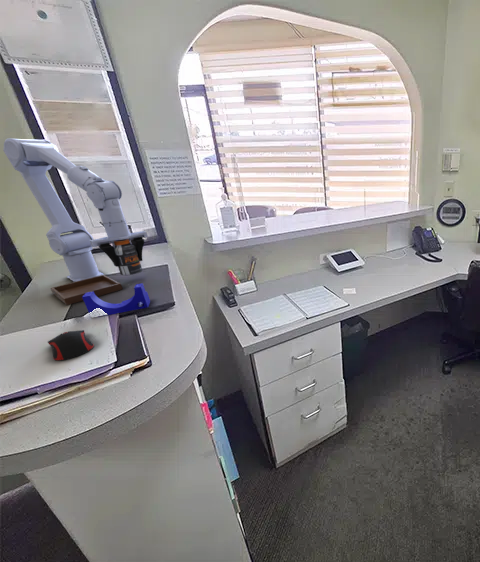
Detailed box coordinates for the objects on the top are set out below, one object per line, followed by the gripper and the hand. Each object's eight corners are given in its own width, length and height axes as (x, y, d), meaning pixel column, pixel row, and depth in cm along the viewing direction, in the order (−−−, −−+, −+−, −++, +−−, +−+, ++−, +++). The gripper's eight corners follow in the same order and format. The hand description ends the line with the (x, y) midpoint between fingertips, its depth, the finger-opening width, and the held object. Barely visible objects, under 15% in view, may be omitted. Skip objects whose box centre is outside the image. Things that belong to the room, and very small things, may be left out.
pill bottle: (131, 276, 99) (119, 242, 95) (116, 275, 101) (104, 241, 96) (147, 270, 105) (136, 237, 101) (133, 269, 106) (122, 237, 102)
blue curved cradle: (150, 301, 87) (143, 281, 84) (147, 307, 83) (140, 286, 81) (96, 311, 82) (87, 290, 79) (91, 318, 78) (82, 296, 76)
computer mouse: (86, 333, 71) (79, 318, 69) (97, 349, 64) (89, 333, 63) (48, 345, 66) (40, 329, 65) (55, 364, 60) (46, 347, 58)
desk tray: (53, 294, 94) (50, 287, 94) (106, 280, 104) (104, 274, 104) (66, 305, 86) (63, 298, 85) (122, 289, 96) (120, 283, 95)
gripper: (89, 227, 89) (105, 271, 94) (146, 219, 100) (158, 259, 105) (81, 225, 93) (98, 267, 98) (137, 217, 104) (149, 256, 109)
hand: (128, 263), depth 101 cm, fingers closed on pill bottle, 6 cm apart
